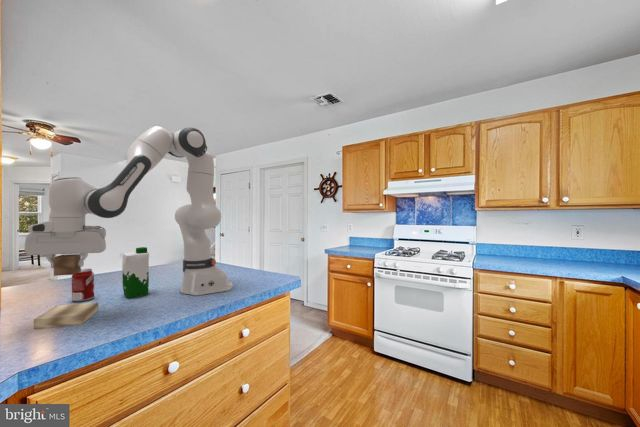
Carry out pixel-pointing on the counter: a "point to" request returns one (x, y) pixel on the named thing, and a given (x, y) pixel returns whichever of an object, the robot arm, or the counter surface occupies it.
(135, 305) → the counter surface
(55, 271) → the walnut block
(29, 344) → the counter surface
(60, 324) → the maple plinth
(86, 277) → the soda can
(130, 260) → the milk carton
